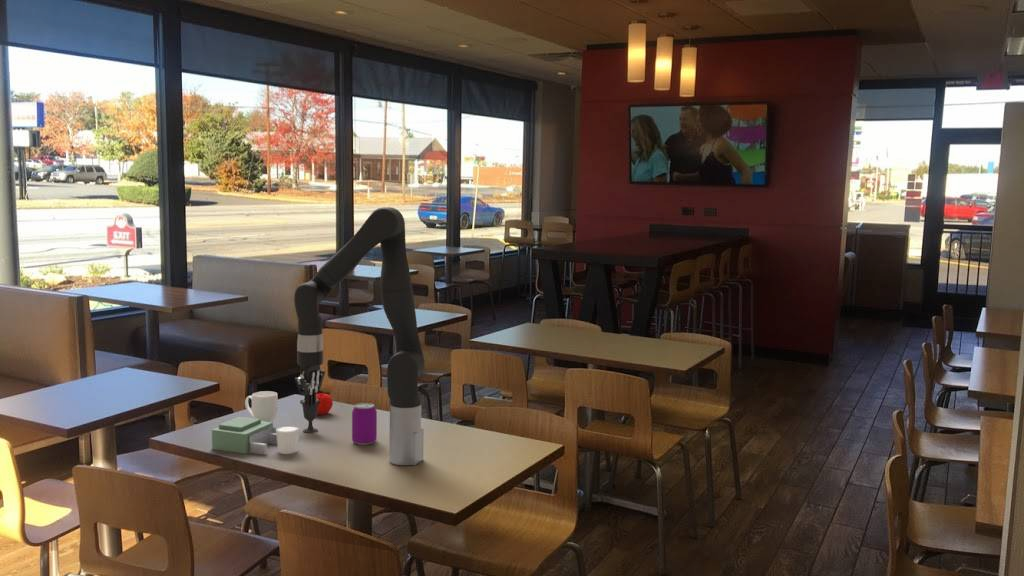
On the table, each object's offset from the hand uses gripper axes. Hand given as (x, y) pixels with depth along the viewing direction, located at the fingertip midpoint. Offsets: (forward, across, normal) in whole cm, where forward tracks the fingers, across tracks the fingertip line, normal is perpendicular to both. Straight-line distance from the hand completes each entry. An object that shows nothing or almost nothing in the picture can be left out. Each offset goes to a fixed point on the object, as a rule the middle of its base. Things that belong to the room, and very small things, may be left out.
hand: (310, 405), depth 249 cm
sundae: (+15, +21, +13) cm, 29 cm away
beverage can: (+15, +17, -9) cm, 25 cm away
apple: (+15, +41, +21) cm, 49 cm away
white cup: (+15, 0, +8) cm, 17 cm away
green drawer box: (+15, 0, +24) cm, 28 cm away
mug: (+15, +19, +31) cm, 39 cm away
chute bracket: (+15, 0, +15) cm, 21 cm away
